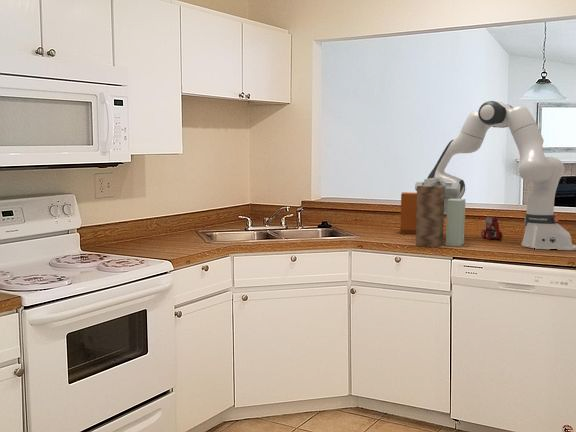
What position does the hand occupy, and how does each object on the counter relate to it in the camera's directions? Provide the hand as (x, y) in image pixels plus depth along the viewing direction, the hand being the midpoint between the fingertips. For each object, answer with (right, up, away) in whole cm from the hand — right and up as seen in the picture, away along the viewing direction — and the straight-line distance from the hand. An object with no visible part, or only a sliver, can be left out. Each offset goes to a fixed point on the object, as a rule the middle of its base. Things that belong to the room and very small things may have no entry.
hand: (434, 180), depth 305 cm
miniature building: (-5, -25, +36) cm, 44 cm away
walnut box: (-3, -29, -3) cm, 29 cm away
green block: (+9, -29, -2) cm, 30 cm away
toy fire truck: (+30, -27, +17) cm, 44 cm away
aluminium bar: (-1, -2, -3) cm, 4 cm away
